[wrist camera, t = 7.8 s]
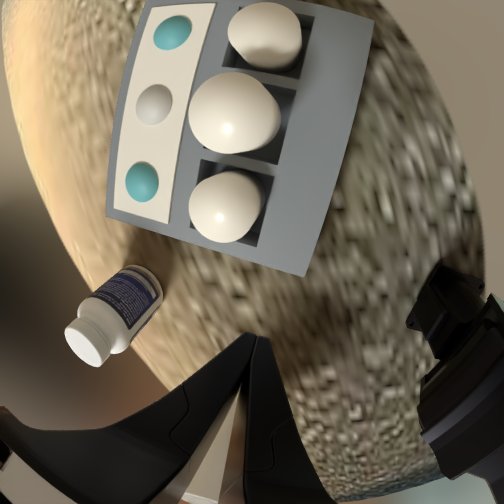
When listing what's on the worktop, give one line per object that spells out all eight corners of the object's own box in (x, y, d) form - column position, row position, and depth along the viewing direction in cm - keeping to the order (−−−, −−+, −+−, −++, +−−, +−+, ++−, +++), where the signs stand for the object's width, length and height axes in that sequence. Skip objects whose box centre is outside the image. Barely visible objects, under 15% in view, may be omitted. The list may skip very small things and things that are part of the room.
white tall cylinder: (283, 384, 27) (256, 511, 13) (262, 412, 30) (234, 516, 16) (224, 363, 27) (173, 486, 14) (211, 394, 30) (168, 495, 17)
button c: (271, 176, 18) (261, 185, 14) (257, 230, 20) (246, 250, 16) (216, 163, 18) (194, 169, 15) (206, 215, 20) (184, 232, 16)
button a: (307, 31, 13) (306, 7, 10) (295, 79, 15) (292, 64, 11) (250, 22, 13) (237, -1, 10) (237, 69, 15) (220, 53, 12)
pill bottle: (118, 257, 25) (50, 309, 16) (163, 270, 24) (99, 334, 15) (123, 301, 27) (68, 357, 18) (165, 316, 26) (115, 383, 17)
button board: (366, 36, 13) (375, 18, 10) (305, 258, 21) (304, 279, 18) (164, 12, 14) (144, -2, 11) (126, 206, 22) (103, 217, 19)
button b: (288, 94, 13) (281, 79, 10) (272, 157, 15) (261, 162, 12) (222, 82, 14) (198, 68, 10) (208, 143, 16) (181, 145, 12)
